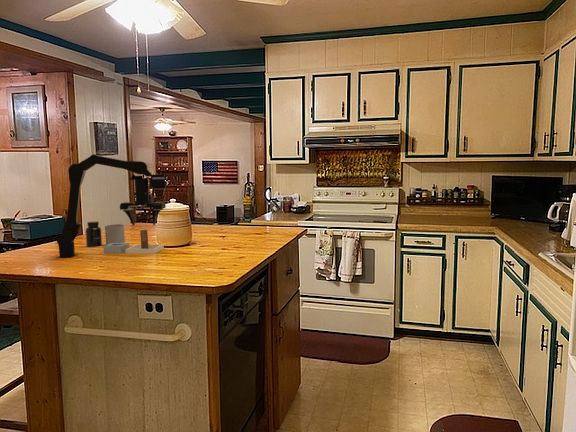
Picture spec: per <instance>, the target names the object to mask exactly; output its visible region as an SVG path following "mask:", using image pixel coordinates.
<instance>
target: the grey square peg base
mask: <svg viewBox="0 0 576 432" xmlns="http://www.w3.org/2000/svg"><path fill="white" fill-rule="evenodd" d="M102 247H103V254H123V253H126V251H125V249H127V248H129V247H130V243H129V242H125V243H110V244H108V245H106V244H105V245H103V246H102Z"/></svg>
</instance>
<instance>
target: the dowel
mask: <svg viewBox="0 0 576 432" xmlns="http://www.w3.org/2000/svg"><path fill="white" fill-rule="evenodd" d="M139 234H140V244H141V249H148V244H149V236H148V230H147V229H142V230H140V231H139Z"/></svg>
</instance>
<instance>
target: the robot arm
mask: <svg viewBox="0 0 576 432" xmlns="http://www.w3.org/2000/svg"><path fill="white" fill-rule="evenodd" d="M95 165H100V166H106V167H111V168H117V169H123V170H125V171H129V172H131V173H133V174H132V176H131V177H129V181H134V192H133V195H134V196H135V201H134V202H133V201H128V202H127V201H126V202H121V203H120V204H119V210H120V211H121V210H122V212H123V213H125V214H126V215H127V217H128V219H129V220H130V222H131V224H132V226H135V224H136V221H135V209H141V208H142V209H145V208H146V209H148V208H149V209H151V208H152V210H151V215H152V216H151V218H152V225H153V226H155V225H156V222H157V219H158V215H159V213H160V212H161V211H163V209H166V206H167V205H166V202H165V201H155V197H154V196H153V195H151V191H150V188H152V190H166V189H167V182H166V174H165V173H159V174H156V173H155V174H153V173H152V172H150V171H149V169H148V165H147V163H146V162H145V161H142V160H123V159H117V158H113V157H107V156H102V155H98V154H91V155H90V156H89V157H87V158H85V159H83V160H82V161H80V162H79V163H73V164H71V165H70V166H69V167H68V169H67V171H68V180H69V185H70V187H69V195H68V206H67V214H66V219H65V222H64V224H63V228H62V230H61V235H60V236H58V238H57V239H56V240H55V241H56V242H57V245H58V253H59V255H58V256H55V258H56V259H70V258H74V257H75V256H78V255H79V254H78V253H76V250H75V249H76V248H75V247H76V246H75V239H76V238H77V237H78V236H79V234H80V233H81V232H82V228H81V227H82V224H83V222H79V218H78V216H79V207H80V197H81V189H82V184H83V181H84V178H85V177H86V176H85V175H86V171H88V170H90V169H91V168H92V167H94V166H95ZM135 174H137V175H135ZM143 176H145V177H143Z"/></svg>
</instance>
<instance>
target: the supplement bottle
mask: <svg viewBox="0 0 576 432" xmlns="http://www.w3.org/2000/svg"><path fill="white" fill-rule="evenodd" d="M99 223H100V222H99V221H94V220H93V221H87V227H86V228H85V242H86V243H85V244H86V247H87V248H97V247H98V248H99V247H103V246H102V245H103V241H102V240H103V239H102V228H101V227H100V226H99Z"/></svg>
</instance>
